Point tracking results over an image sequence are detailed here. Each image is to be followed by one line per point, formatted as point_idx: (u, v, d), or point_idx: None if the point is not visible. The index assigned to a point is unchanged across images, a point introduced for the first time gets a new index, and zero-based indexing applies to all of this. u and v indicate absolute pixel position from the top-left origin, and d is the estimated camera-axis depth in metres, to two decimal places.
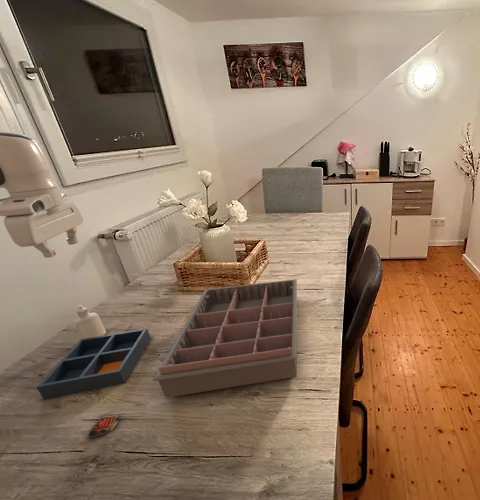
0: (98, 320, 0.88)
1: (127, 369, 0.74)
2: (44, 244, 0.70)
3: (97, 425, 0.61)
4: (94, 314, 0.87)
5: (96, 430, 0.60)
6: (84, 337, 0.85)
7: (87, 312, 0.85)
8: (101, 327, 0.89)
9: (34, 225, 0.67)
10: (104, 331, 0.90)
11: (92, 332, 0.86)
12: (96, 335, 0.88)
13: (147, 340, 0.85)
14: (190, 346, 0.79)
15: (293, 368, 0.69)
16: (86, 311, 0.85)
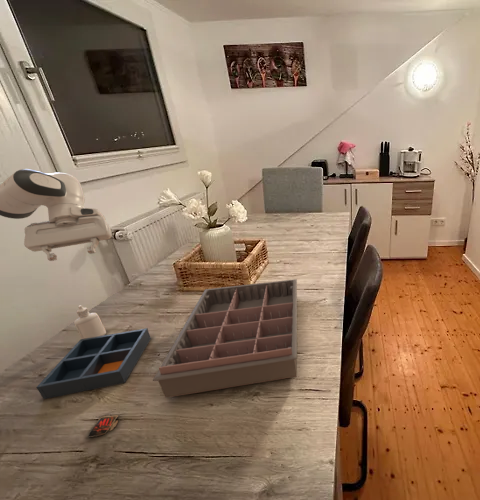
0: (98, 320, 0.88)
1: (127, 369, 0.74)
2: None
3: (97, 425, 0.61)
4: (94, 314, 0.87)
5: (96, 430, 0.60)
6: (84, 337, 0.85)
7: (87, 312, 0.85)
8: (101, 327, 0.89)
9: None
10: (104, 331, 0.90)
11: (92, 332, 0.86)
12: (96, 335, 0.88)
13: (147, 340, 0.85)
14: (190, 346, 0.79)
15: (293, 368, 0.69)
16: (86, 311, 0.85)
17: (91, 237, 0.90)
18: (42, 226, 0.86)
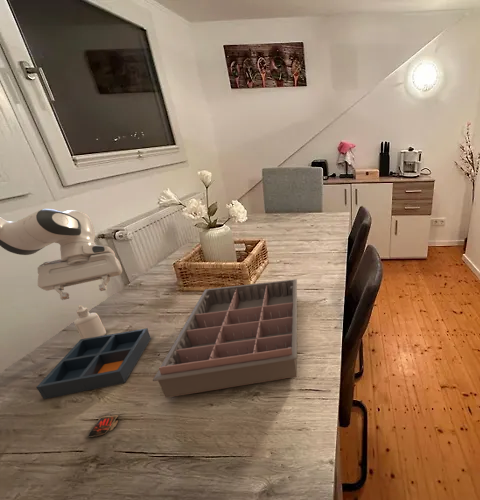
0: (98, 320, 0.88)
1: (127, 369, 0.74)
2: None
3: (97, 425, 0.61)
4: (94, 314, 0.87)
5: (96, 430, 0.60)
6: (84, 337, 0.85)
7: (87, 312, 0.85)
8: (101, 327, 0.89)
9: None
10: (104, 331, 0.90)
11: (92, 332, 0.86)
12: (96, 335, 0.88)
13: (147, 340, 0.85)
14: (190, 346, 0.79)
15: (293, 368, 0.69)
16: (86, 311, 0.85)
17: (102, 274, 0.92)
18: (55, 265, 0.88)
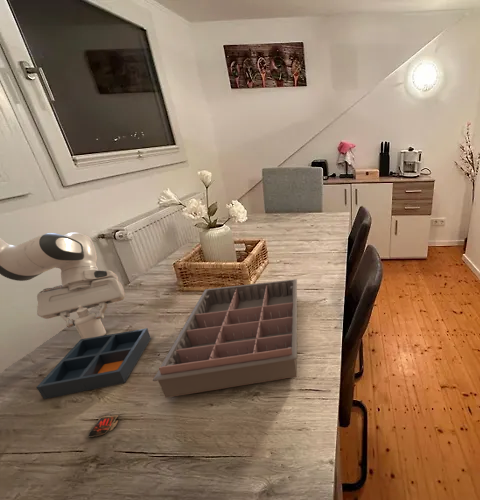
0: (98, 320, 0.88)
1: (127, 369, 0.74)
2: None
3: (97, 425, 0.61)
4: (94, 314, 0.87)
5: (96, 430, 0.60)
6: (84, 337, 0.85)
7: (87, 312, 0.85)
8: (101, 327, 0.89)
9: None
10: (104, 331, 0.90)
11: (92, 332, 0.86)
12: (96, 335, 0.88)
13: (147, 340, 0.85)
14: (190, 346, 0.79)
15: (293, 368, 0.69)
16: (86, 311, 0.85)
17: (105, 301, 0.88)
18: (55, 292, 0.84)
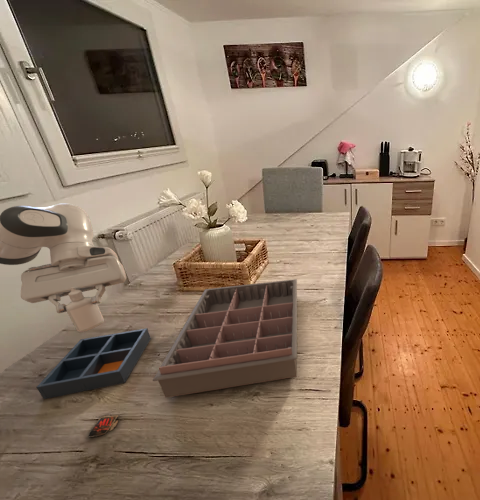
0: (94, 305, 0.74)
1: (127, 369, 0.74)
2: None
3: (97, 425, 0.61)
4: (89, 298, 0.73)
5: (96, 430, 0.60)
6: (78, 325, 0.72)
7: (81, 295, 0.71)
8: (98, 314, 0.75)
9: None
10: (102, 319, 0.76)
11: (87, 320, 0.73)
12: (92, 323, 0.74)
13: (147, 340, 0.85)
14: (190, 346, 0.79)
15: (293, 368, 0.69)
16: (80, 294, 0.71)
17: (102, 283, 0.74)
18: (43, 271, 0.71)
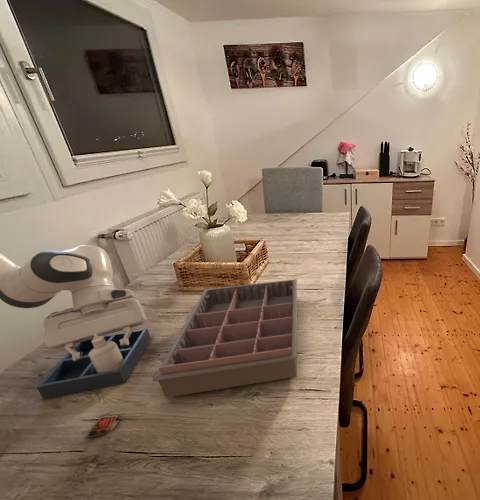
0: (116, 350, 0.74)
1: (127, 369, 0.74)
2: None
3: (97, 425, 0.61)
4: (112, 343, 0.73)
5: (96, 430, 0.60)
6: (100, 371, 0.72)
7: (104, 342, 0.71)
8: (120, 358, 0.75)
9: None
10: None
11: (109, 365, 0.73)
12: (114, 368, 0.74)
13: (147, 340, 0.85)
14: (190, 346, 0.79)
15: (293, 368, 0.69)
16: (103, 341, 0.71)
17: (124, 326, 0.74)
18: (65, 317, 0.71)
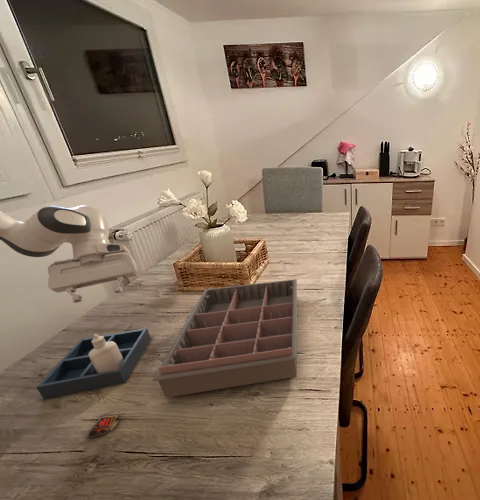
0: (116, 350, 0.74)
1: (127, 369, 0.74)
2: None
3: (97, 425, 0.61)
4: (112, 343, 0.73)
5: (96, 430, 0.60)
6: (100, 371, 0.72)
7: (104, 342, 0.71)
8: (120, 358, 0.75)
9: None
10: None
11: (109, 365, 0.73)
12: (114, 368, 0.74)
13: (147, 340, 0.85)
14: (190, 346, 0.79)
15: (293, 368, 0.69)
16: (103, 341, 0.71)
17: (118, 275, 0.85)
18: (66, 265, 0.81)
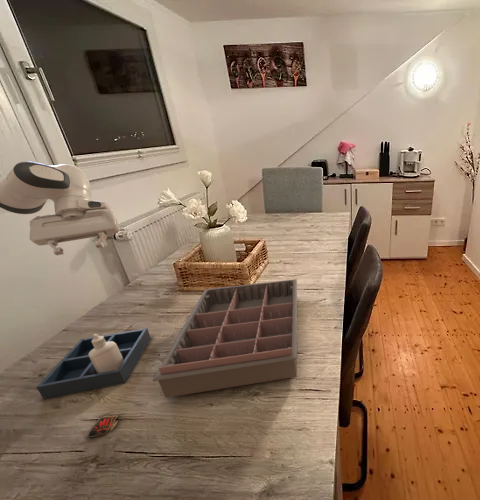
0: (116, 350, 0.74)
1: (127, 369, 0.74)
2: None
3: (97, 425, 0.61)
4: (112, 343, 0.73)
5: (96, 430, 0.60)
6: (100, 371, 0.72)
7: (104, 342, 0.71)
8: (120, 358, 0.75)
9: None
10: None
11: (109, 365, 0.73)
12: (114, 368, 0.74)
13: (147, 340, 0.85)
14: (190, 346, 0.79)
15: (293, 368, 0.69)
16: (103, 341, 0.71)
17: (99, 231, 0.86)
18: (48, 219, 0.83)
